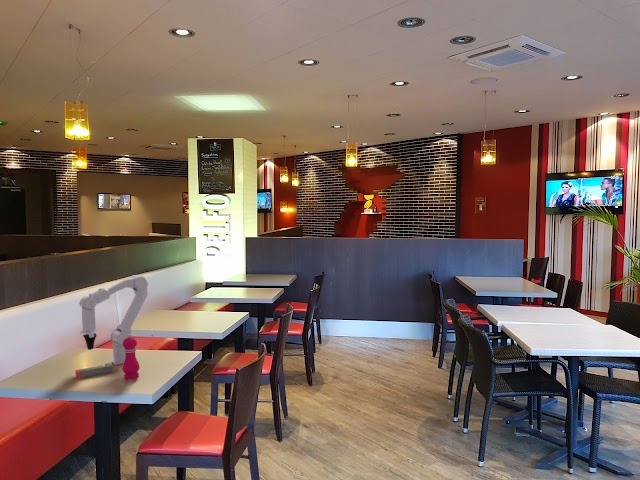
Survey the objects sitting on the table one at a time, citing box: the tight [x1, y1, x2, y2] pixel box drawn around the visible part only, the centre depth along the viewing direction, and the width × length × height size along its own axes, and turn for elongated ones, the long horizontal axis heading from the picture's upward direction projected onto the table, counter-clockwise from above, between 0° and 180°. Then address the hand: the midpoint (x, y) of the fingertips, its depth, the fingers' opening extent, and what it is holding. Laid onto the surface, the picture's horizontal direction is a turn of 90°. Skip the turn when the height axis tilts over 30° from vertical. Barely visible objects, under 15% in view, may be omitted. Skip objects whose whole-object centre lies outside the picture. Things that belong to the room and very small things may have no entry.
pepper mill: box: [122, 333, 140, 381], centre depth 221 cm, size 7×7×20 cm
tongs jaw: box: [74, 364, 104, 378], centre depth 227 cm, size 12×2×3 cm, turn 123°
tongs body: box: [75, 362, 113, 380], centre depth 227 cm, size 16×5×3 cm, turn 123°
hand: (90, 349), depth 236 cm, fingers closed
